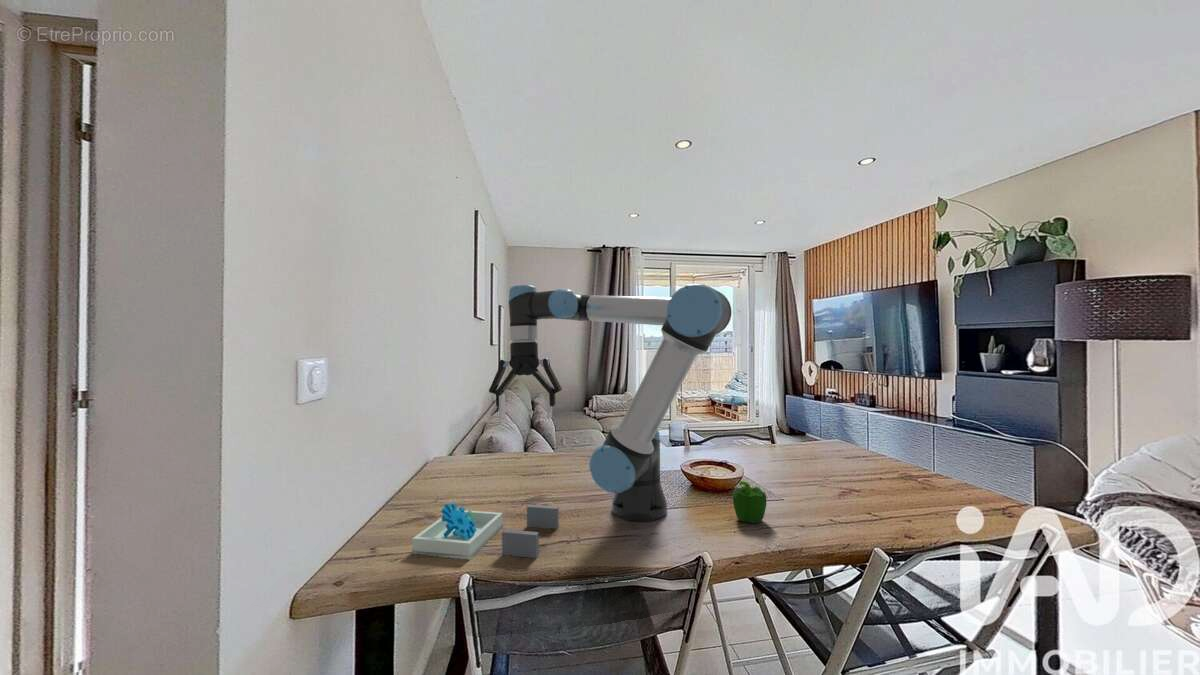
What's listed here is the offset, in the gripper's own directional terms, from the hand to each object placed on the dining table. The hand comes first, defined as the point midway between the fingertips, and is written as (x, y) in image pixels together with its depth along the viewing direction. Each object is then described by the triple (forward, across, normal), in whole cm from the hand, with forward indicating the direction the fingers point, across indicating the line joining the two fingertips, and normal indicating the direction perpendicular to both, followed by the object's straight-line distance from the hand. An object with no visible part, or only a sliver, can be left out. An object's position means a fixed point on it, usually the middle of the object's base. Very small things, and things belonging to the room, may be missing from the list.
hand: (526, 418), depth 121 cm
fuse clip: (+26, -6, +16) cm, 31 cm away
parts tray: (+26, +11, +18) cm, 33 cm away
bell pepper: (+27, -59, -3) cm, 65 cm away
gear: (+25, +11, +18) cm, 33 cm away
